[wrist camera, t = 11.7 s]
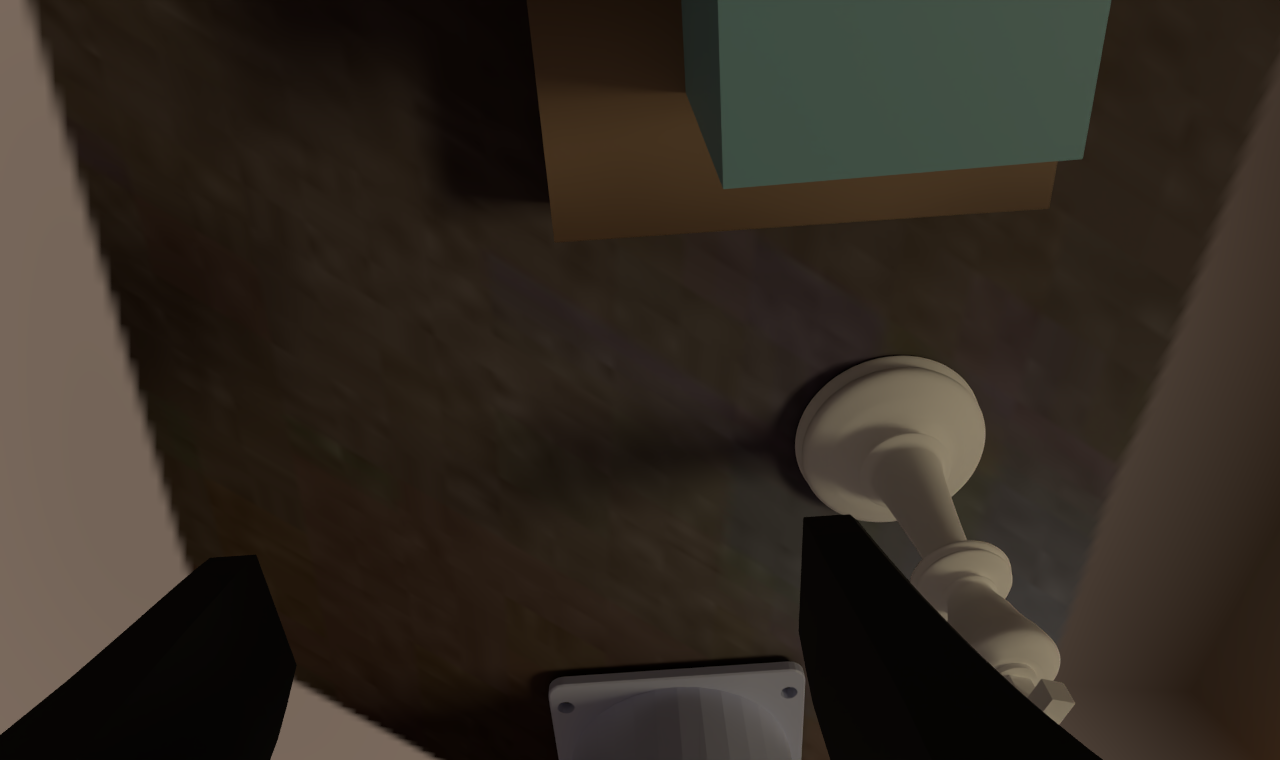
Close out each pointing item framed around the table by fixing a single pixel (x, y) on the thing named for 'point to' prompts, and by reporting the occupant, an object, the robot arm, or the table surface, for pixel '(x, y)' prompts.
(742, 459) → the table surface
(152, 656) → the robot arm
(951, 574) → the chess piece
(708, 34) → the teal block
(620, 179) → the walnut base
